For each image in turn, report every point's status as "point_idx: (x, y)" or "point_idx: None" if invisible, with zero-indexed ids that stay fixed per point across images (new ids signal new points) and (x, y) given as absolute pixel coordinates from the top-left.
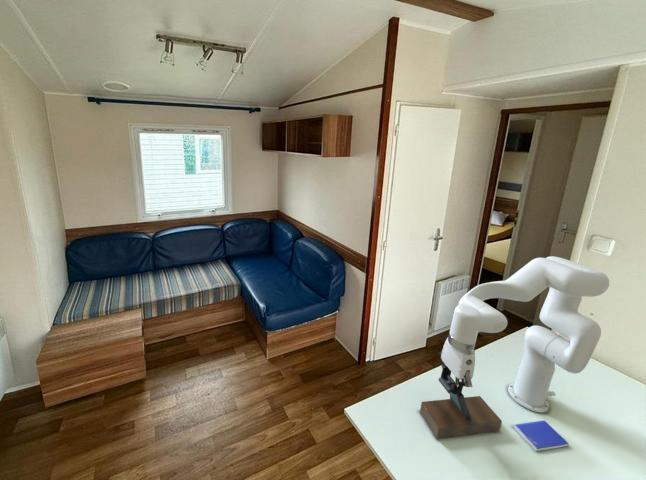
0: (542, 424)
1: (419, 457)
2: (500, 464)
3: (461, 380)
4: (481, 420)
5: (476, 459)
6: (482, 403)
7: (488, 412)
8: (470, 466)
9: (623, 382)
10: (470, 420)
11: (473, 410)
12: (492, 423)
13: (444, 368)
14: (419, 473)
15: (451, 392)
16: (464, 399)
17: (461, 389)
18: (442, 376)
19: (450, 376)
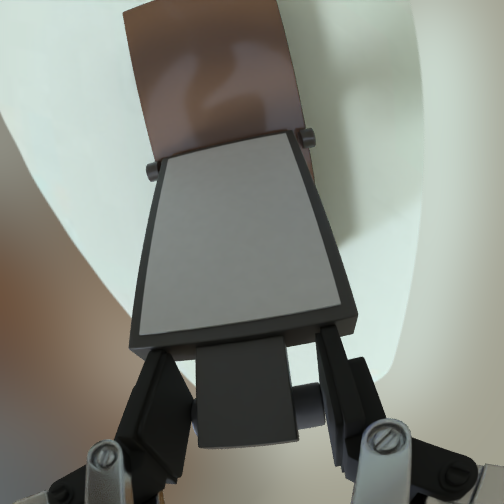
0: None
1: (365, 328)
2: (395, 79)
3: (357, 474)
4: (278, 67)
5: (383, 155)
6: (168, 14)
7: (222, 8)
8: (402, 191)
9: None
10: (307, 142)
11: (218, 77)
12: (280, 19)
13: (161, 494)
14: (397, 336)
15: (319, 384)
16: (343, 266)
17: (374, 392)
18: (187, 429)
19: (217, 445)
